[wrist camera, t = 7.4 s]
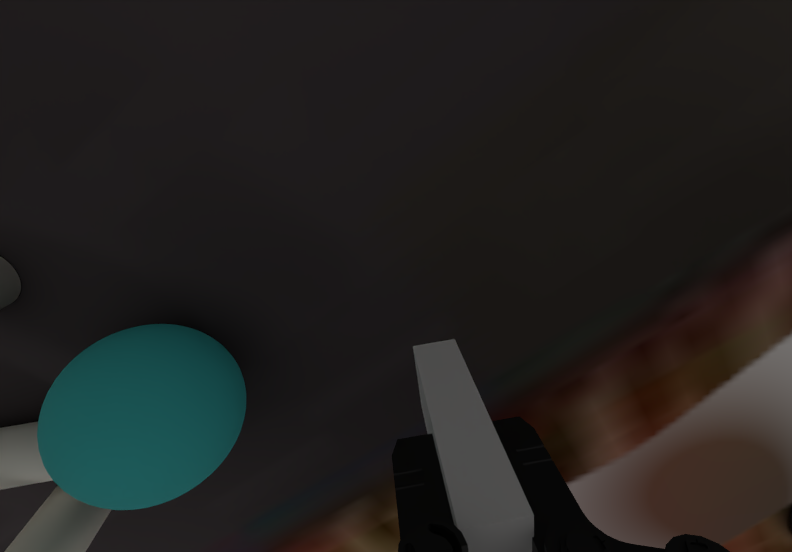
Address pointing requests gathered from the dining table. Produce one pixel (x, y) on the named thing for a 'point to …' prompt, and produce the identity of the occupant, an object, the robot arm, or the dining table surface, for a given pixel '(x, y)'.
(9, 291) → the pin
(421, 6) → the dining table surface
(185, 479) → the ball
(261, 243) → the dining table surface
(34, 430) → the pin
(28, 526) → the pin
